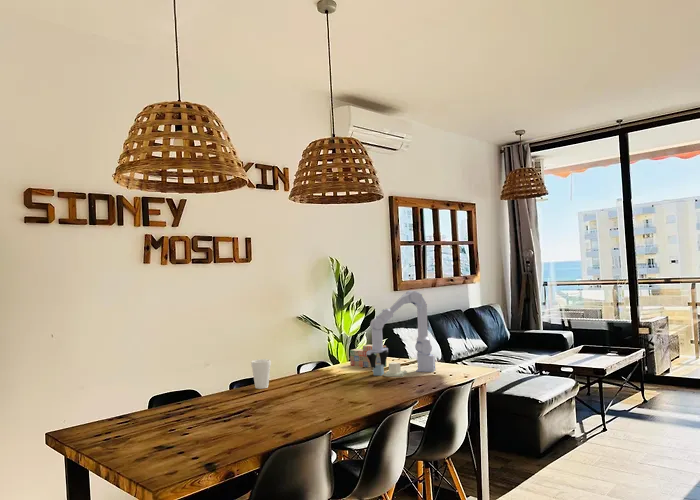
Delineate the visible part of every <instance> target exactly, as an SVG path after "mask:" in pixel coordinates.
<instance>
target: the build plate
mask: <svg viewBox="0 0 700 500" xmlns="http://www.w3.org/2000/svg"><path fill="white" fill-rule="evenodd" d="M407 372H408V371H407V370H401V372H400V373H397V374H395V373H389V370H388V371H386V372H384V374H383V377H401V378H402V377H404V376H405V375H407V374H408V373H407Z"/></svg>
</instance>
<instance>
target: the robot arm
mask: <svg viewBox="0 0 700 500" xmlns="http://www.w3.org/2000/svg"><path fill="white" fill-rule="evenodd" d="M406 304H412V305H413V306H415V307H416V308H417V312H416V313H417V337H416V343H415V345H414V347H415V350H416V358H417V369H416V370H415V371H416V372H422V373H425V372H426V373H433V372H435V371H436V370H437V369H436V356H435V354H432V353H431V352H432V350H433V348H432V344H431V341H430V338H429V333H428V332H429V331H428V304H427V301H425V298H424V297H423V293H421V292H420V291H417V290H414V291H413V290H407V291H406V292H405V293H403V294H402V295H401V296H400V297H398V299H397V300H396V301H395V302H394V303H393V304H392V305H391V306H390V307H389V308H385V309H382V310H381V313H380V314H378V315H376V316H375V318H373V319H371V321H370V324H369V326H370V328H371V345H372V350H369V351H367V357H368V359H369V361H370V364H371V367H370V368H372V369H373V368H375V361H376V357H377V355H374V354H376V353H379V355H380V359H381V365H384V366H385V363H386V364H387V358H388V356H389V348H388V347H386V348H383V346H384V342H383V341H384V340H383V339H384V338H383V329H384V326H385V325H386V323H388V322H389V321H390V320H391V319H392V318H393V317H394V313H396V311H398V310H399V309H401V307H403V306H404V305H406Z"/></svg>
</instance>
